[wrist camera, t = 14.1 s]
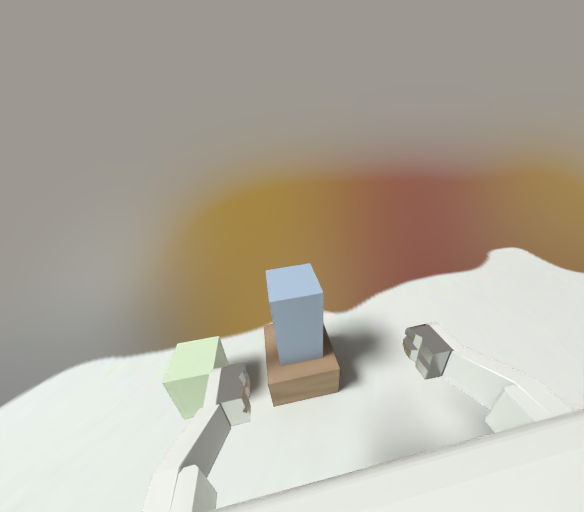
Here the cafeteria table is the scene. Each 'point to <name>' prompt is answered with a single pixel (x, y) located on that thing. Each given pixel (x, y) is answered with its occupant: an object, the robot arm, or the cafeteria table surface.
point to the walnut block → (300, 373)
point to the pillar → (296, 313)
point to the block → (193, 373)
